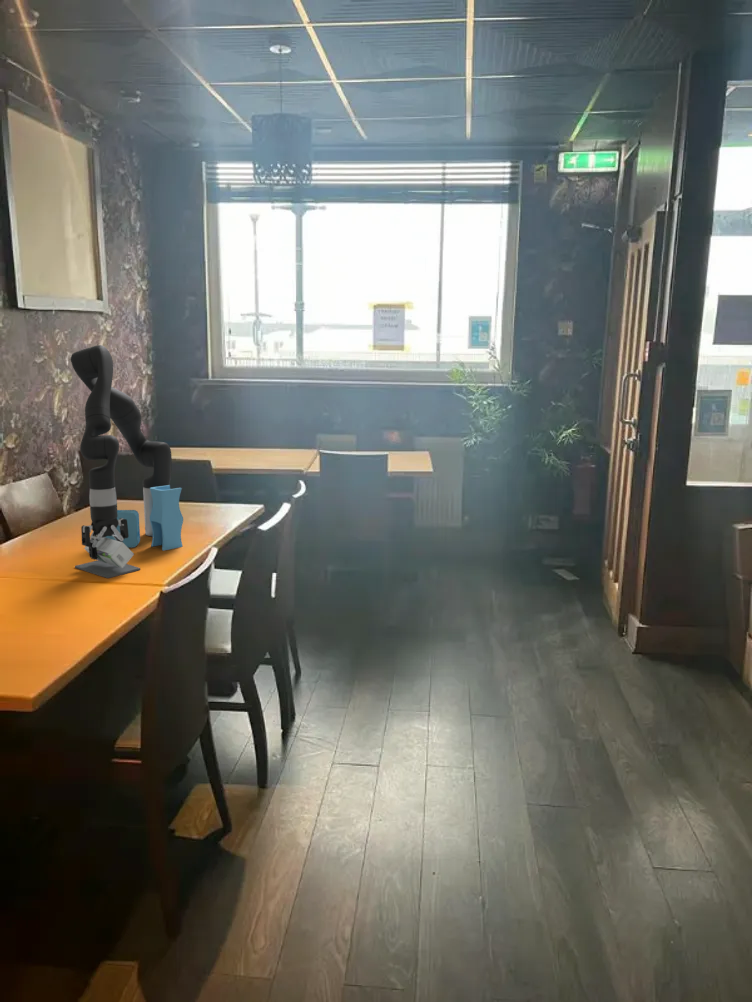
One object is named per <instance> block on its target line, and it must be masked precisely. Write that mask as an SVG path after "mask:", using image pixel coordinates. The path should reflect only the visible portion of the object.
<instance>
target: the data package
mask: <svg viewBox="0 0 752 1002" xmlns="http://www.w3.org/2000/svg"><path fill="white" fill-rule="evenodd" d="M117 513H118V517H117V520H119V519H120V518H123V519H127V524H128V535H129V537H128V538H125V539H124V540H123V543H124V544H125V545H126V546H127V547H128V548H129V549H130V548H136V547H137V546H138V545H139V543H140V542H141V532H140V531H141V530H140V527H141V526H140V513H139V512H138V510H136V509H117ZM116 529H117V530H118V531H119V533H120V526H119V525H118V526H117V528H116ZM105 538H109V539H112V540H116V539H115V538H114V537H113V536H106V537H105ZM116 541H117V540H116Z"/></svg>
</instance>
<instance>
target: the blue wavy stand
mask: <svg viewBox="0 0 752 1002" xmlns="http://www.w3.org/2000/svg"><path fill="white" fill-rule="evenodd" d="M182 489H183V487H176V488H171V484H170V485H166V486H158V487H151V488H150V491H151V494H152V499H153V507H152V511H151V515H150V523H151V526H152V531H153V536H152V539H151V540H152V541H151V545H150V546H151V547H157V546H158V547H159V546H162V547H161V550H162V551H168V550H169V551H170V550H173V549H177V548H182V547H183V542H182V529H183V528H182V527H183V525H184V524H183V523H184V516H183V514H182V511H181V507H180V496H181V492H182Z"/></svg>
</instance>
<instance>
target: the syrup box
mask: <svg viewBox="0 0 752 1002" xmlns="http://www.w3.org/2000/svg"><path fill="white" fill-rule="evenodd" d="M96 536H97V535H96ZM95 547H97V559H95V561H97V560H99V561H102V562H105V563H108V564H111V565H114V566H117V567H120V568H123V567H124V566H125V565H126V564H128V562H130V560H131V559H132V558H133V556H134V555H135V553H134V552H133V551H132V550H131V549H130V548H128V547H127V546H126V545H125V544H124V543H123V542H119V541H116V540H112V539H109V538H105V537H103V538H102V537H101V539H100V541H98V543H97V545H96V546H95ZM83 549H84V550H85V551H86V552H87V553H88V554H89V547H87V546H84V548H83Z"/></svg>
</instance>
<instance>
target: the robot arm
mask: <svg viewBox="0 0 752 1002" xmlns="http://www.w3.org/2000/svg"><path fill="white" fill-rule="evenodd" d="M70 363H71V366H72V368H73V371H74V372H75V373H76V375H77V376H78V378H79V380H81V382H82V383H83V384H84V385H85V386H86V387H87V388H88V390H89V391H90V394H89V396H88V397H87V399H86V402H85V406H84V417H85V418H84V419H85V420H84V421H85V429H84V432H83V435H82V438H81V441H80V447H79V448H80V449H79V451H80V454H81V456H82V457H83V459H85V460H89V461H94V460H95V461H96V460H98V461H99V460H101V461H103V460H106V463H104V464H103V465H100V466H97V467H93V468H91V469H89V471H88V481H89V482H88V483H89V498H88V499H89V511H90V519H91V523H90V525H82V526H81V527H80V528H81V545H82V546H84V547H85V546H87V547H89V553H88V554H89V555H88V556H89V558H90V559H92V560H94V561H96V559H97V547H95V546H96V545H97V543H98V541H100V539H101V537H102V538H103V537H106V536H113V537H114V538H115V539H116V540H117V541H119V542H123V540H124V539H125V538H128V537H129V535H128V524H127V519H123V518H120V519H119V520H117V517H118V513H117V510H118V501H117V500H118V499H117V490H116V479H115V469H116V464H117V460H118V459H117V458H118V455H119V451H120V443H119V440H118V438H117V437H116V435H115V436H114V435H112V434H107V433H109V431H110V430H111V428H112V423H113V424H114V425H115V426H116V428H117V429H118V430H119V432H120V433H121V435H122V436H123V438H124V439H125V441H126V443H127V444H128V446H129V448H130V450H131V452H132V454H133V456H134V457H135V460H136V462H138V464H140V466H142V467H145V468H153V471H152V474H151V475H150V476H148V477H144V478H143V480H142V493H143V513H144V531H145V533H144V534H145V536H148V537H153V531H152V526H151V523H150V515H151V511H152V507H153V499H152V494H151V491H150V488H151V487H158V486H166V485H170V486H171V484H170V483H171V480H172V462H173V461H172V458H173V457H172V456H173V455H172V449H171V446H170V445H169V444H168V443H167V442H163V441H155V440H154V441H153V440H152V441H151V440H149V439H148V438H146V436H145V435H144V433H143V432H142V430H141V427H142V426H141V425H142V414H141V411H140V409H139V408H138V406H137V404H136V403H135V401H134V400H133V398H132V397H130V395H128V394H127V393H125V392H123V391H122V390H119V389H117V388H115V387H113V386H112V383H113V376H114V361H113V358H112V355H111V353H110V350H109V349H108V348H107V347H106V346H104V345H103V344H98V345H93V346H91V347H87V348H84V349H80V350H78V351H75V352H74V353H73V352H72V354H71V355H70ZM105 434H106V435H105ZM118 525H119V526H120V533H119V531H118V530H117V529H116V528H117V526H118ZM96 535H97V536H96Z"/></svg>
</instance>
